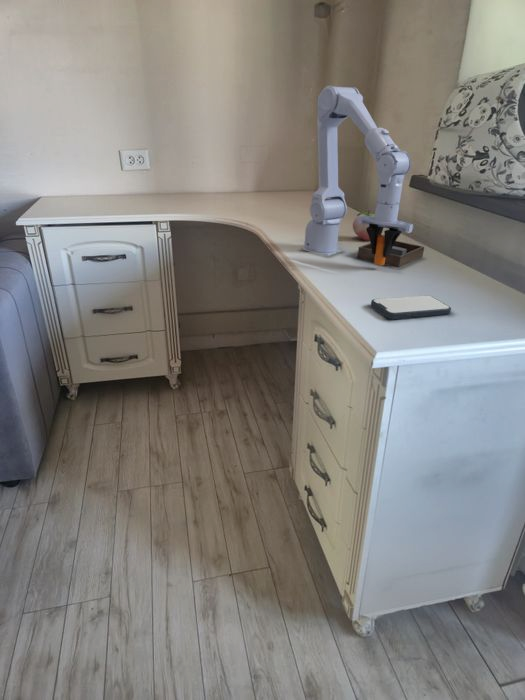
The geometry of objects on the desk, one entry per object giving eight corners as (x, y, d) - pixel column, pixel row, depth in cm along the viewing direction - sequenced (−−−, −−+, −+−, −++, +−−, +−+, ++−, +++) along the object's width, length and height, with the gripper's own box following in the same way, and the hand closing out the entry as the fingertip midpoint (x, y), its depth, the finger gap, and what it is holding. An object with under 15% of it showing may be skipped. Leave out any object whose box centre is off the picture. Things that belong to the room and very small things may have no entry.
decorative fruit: (384, 241, 161) (389, 211, 157) (371, 246, 156) (375, 214, 152) (360, 236, 167) (364, 206, 163) (346, 240, 162) (350, 209, 157)
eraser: (386, 253, 147) (387, 247, 146) (390, 252, 149) (391, 245, 148) (401, 257, 144) (402, 250, 143) (405, 255, 146) (406, 249, 145)
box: (357, 258, 143) (358, 247, 141) (382, 249, 153) (384, 238, 152) (398, 269, 135) (400, 256, 134) (422, 258, 146) (424, 246, 144)
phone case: (428, 301, 115) (368, 305, 110) (429, 294, 114) (369, 298, 109) (452, 315, 107) (388, 321, 102) (454, 308, 106) (390, 314, 102)
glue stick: (371, 263, 132) (375, 236, 129) (376, 261, 134) (380, 234, 131) (381, 266, 130) (385, 238, 127) (386, 264, 132) (391, 236, 129)
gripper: (421, 204, 123) (412, 257, 130) (370, 196, 132) (364, 246, 138) (409, 208, 119) (400, 263, 125) (357, 199, 127) (351, 251, 133)
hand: (380, 254), depth 131 cm, fingers closed on glue stick, 3 cm apart
